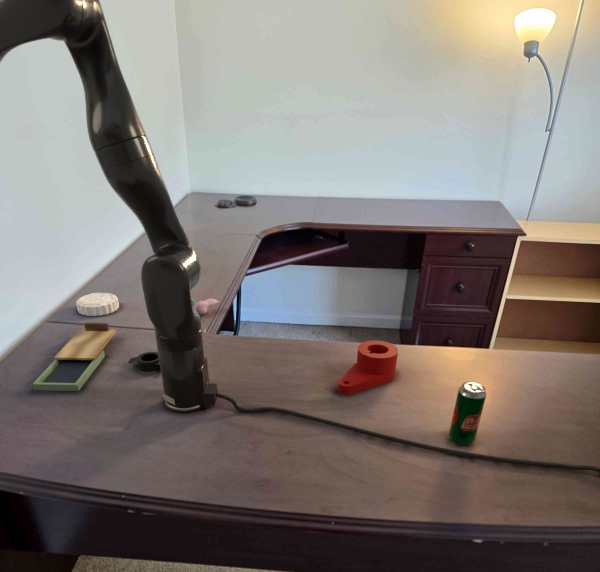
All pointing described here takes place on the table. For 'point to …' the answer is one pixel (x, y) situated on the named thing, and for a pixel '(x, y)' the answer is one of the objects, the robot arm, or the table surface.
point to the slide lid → (87, 342)
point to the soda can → (467, 413)
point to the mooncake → (97, 304)
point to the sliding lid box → (76, 386)
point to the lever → (370, 367)
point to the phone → (68, 371)
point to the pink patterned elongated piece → (203, 305)
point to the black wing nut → (147, 362)
